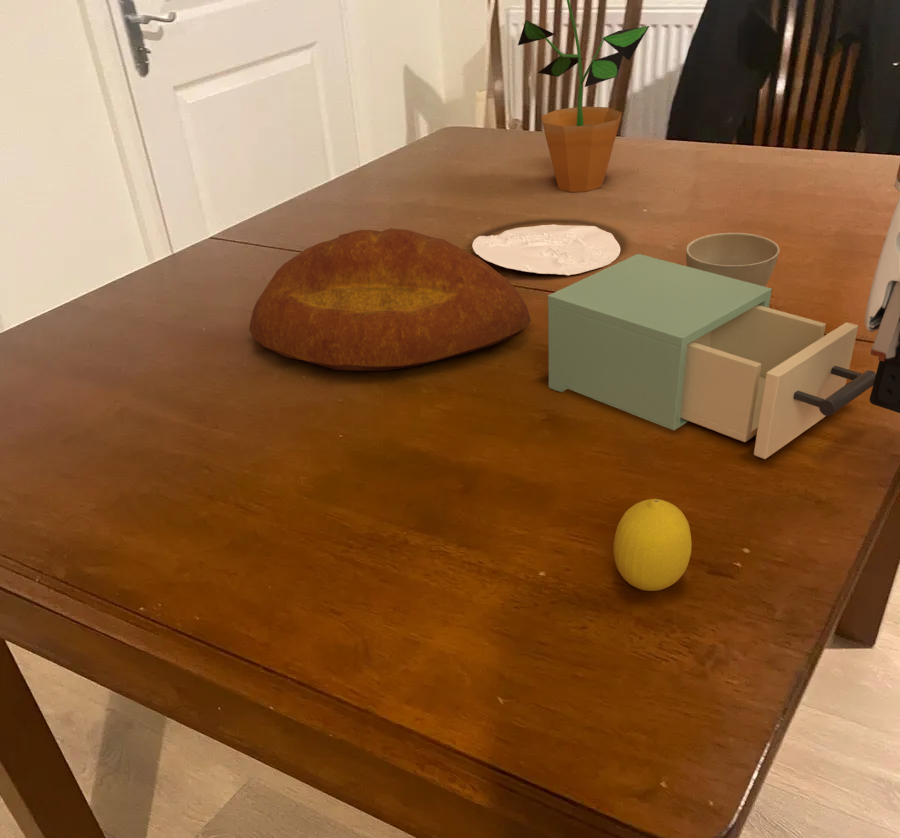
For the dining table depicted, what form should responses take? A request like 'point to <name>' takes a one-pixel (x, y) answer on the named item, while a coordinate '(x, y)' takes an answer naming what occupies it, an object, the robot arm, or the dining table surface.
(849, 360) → the drawer
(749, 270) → the flower pot
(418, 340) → the bread
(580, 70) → the potted plant
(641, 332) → the cabinet
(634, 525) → the lemon
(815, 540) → the dining table surface
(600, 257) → the plaque
